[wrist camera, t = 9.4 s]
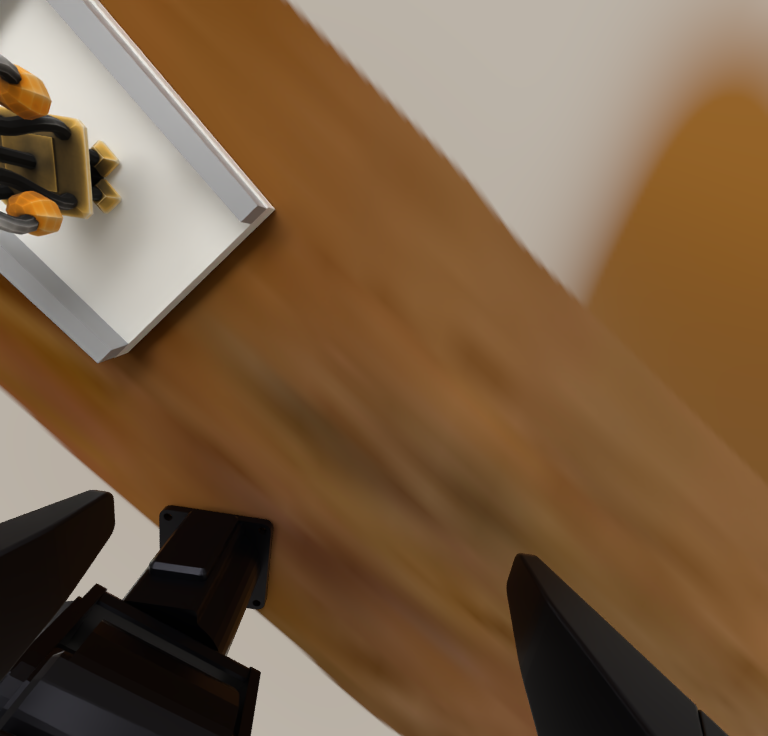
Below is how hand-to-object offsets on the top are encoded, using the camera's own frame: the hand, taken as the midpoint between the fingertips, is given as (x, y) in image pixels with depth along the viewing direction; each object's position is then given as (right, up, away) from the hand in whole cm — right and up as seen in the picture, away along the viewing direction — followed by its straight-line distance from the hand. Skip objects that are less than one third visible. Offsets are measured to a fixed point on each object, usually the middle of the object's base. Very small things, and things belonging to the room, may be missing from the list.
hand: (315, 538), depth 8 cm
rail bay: (-12, +13, +9) cm, 20 cm away
